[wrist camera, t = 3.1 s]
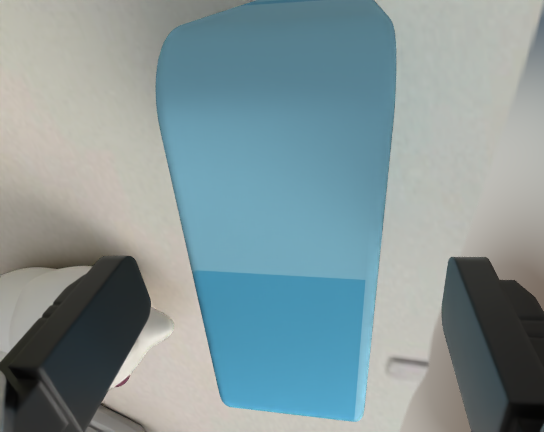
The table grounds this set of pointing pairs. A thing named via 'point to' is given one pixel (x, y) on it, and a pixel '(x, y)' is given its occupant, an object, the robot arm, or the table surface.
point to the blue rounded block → (283, 192)
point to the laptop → (111, 422)
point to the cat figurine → (42, 293)
